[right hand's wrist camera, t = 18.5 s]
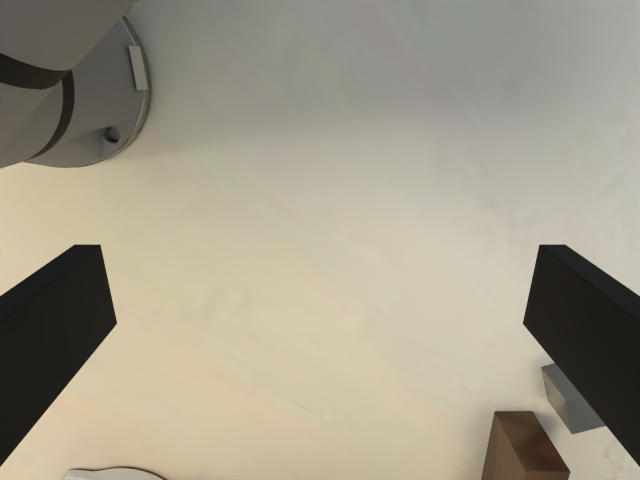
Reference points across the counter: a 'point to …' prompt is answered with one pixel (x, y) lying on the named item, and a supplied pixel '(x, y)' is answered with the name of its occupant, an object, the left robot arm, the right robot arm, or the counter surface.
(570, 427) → the slate block
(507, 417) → the walnut plank
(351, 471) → the counter surface
